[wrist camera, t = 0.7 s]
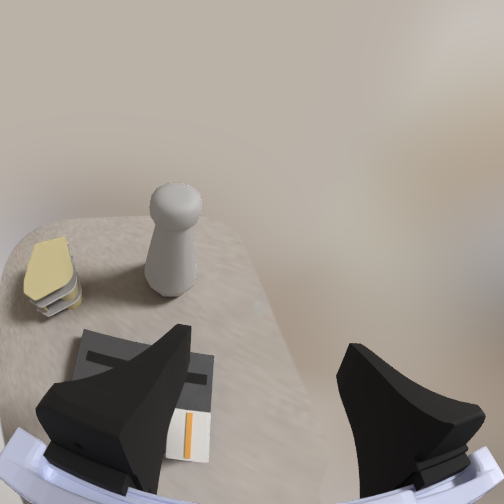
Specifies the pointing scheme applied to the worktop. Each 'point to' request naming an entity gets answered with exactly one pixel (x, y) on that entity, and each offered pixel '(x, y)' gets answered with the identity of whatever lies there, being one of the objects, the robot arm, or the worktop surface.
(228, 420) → the worktop surface
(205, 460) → the white striped block
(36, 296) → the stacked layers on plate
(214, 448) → the worktop surface
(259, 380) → the worktop surface
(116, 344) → the console
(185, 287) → the salt shaker
